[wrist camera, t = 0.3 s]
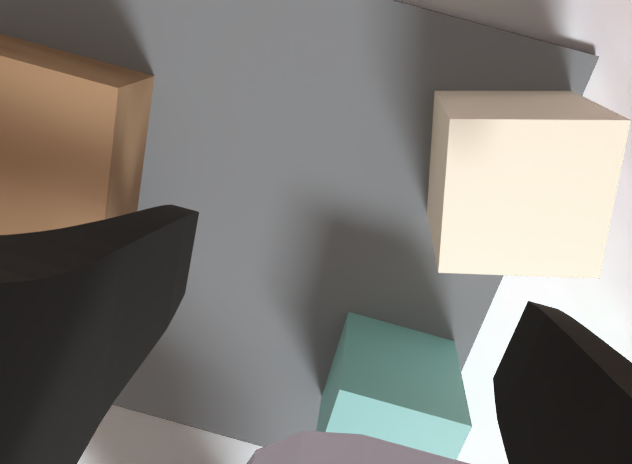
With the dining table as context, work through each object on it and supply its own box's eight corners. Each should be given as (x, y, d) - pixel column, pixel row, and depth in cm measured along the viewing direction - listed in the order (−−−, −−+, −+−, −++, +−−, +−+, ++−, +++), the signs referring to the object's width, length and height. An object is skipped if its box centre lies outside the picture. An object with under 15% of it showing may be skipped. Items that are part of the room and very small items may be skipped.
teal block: (419, 423, 25) (427, 520, 20) (321, 396, 25) (307, 486, 20) (454, 341, 23) (471, 426, 18) (348, 311, 23) (339, 389, 18)
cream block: (551, 216, 21) (599, 278, 16) (426, 213, 21) (438, 272, 16) (570, 90, 19) (630, 120, 14) (434, 90, 19) (449, 119, 15)
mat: (409, 482, 27) (410, 488, 26) (-77, 346, 27) (-82, 349, 26) (596, 55, 19) (599, 56, 18) (-98, -134, 19) (-105, -136, 19)
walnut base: (132, 246, 23) (98, 279, 20) (-31, 200, 23) (-88, 227, 20) (154, 76, 20) (118, 88, 17) (-32, 24, 20) (-97, 28, 18)
